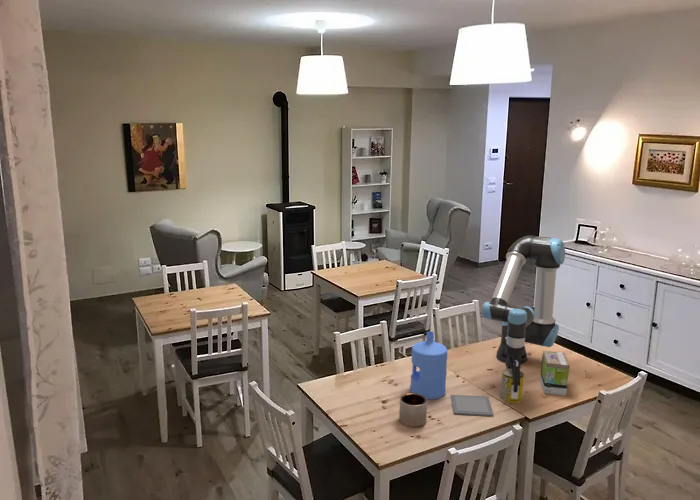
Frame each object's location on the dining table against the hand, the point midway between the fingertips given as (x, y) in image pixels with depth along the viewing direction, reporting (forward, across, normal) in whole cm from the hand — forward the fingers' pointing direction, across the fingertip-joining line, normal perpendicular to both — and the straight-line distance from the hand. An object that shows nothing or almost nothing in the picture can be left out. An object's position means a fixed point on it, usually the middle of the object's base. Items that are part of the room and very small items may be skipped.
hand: (511, 391), depth 251 cm
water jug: (+4, -2, -36) cm, 36 cm away
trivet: (+4, +9, -18) cm, 20 cm away
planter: (+4, +24, -43) cm, 49 cm away
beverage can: (+4, 0, 0) cm, 4 cm away
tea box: (+4, -13, +21) cm, 25 cm away
